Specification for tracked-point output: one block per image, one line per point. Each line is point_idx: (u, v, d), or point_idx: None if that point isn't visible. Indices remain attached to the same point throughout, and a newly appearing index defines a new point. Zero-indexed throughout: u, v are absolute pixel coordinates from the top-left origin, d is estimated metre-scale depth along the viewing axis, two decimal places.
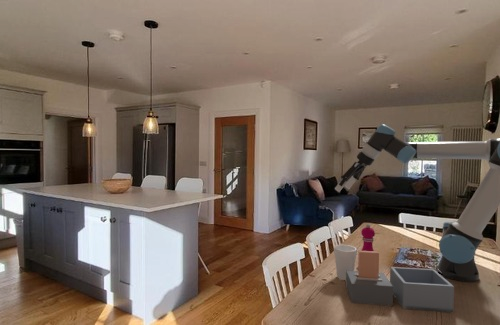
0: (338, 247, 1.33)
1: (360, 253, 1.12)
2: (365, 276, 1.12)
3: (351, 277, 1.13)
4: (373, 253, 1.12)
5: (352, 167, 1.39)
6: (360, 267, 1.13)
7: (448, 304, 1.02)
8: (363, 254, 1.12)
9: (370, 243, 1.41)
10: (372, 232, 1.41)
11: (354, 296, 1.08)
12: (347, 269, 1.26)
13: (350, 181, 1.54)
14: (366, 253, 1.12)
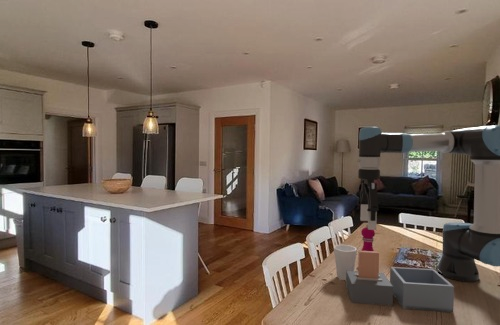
0: (338, 247, 1.33)
1: (360, 253, 1.12)
2: (365, 276, 1.12)
3: (351, 277, 1.13)
4: (373, 253, 1.12)
5: (371, 191, 1.05)
6: (360, 267, 1.13)
7: (448, 304, 1.02)
8: (363, 254, 1.12)
9: (370, 243, 1.41)
10: (372, 232, 1.41)
11: (354, 296, 1.08)
12: (347, 269, 1.26)
13: (363, 210, 1.19)
14: (366, 253, 1.12)
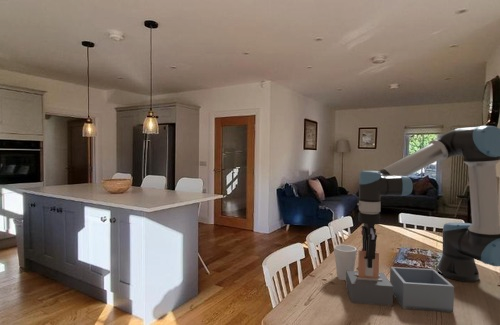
0: (338, 247, 1.33)
1: (360, 253, 1.12)
2: (365, 276, 1.12)
3: (351, 277, 1.13)
4: None
5: (371, 242, 1.07)
6: (360, 267, 1.13)
7: (448, 304, 1.02)
8: (363, 254, 1.12)
9: None
10: None
11: (354, 296, 1.08)
12: (347, 269, 1.26)
13: None
14: None
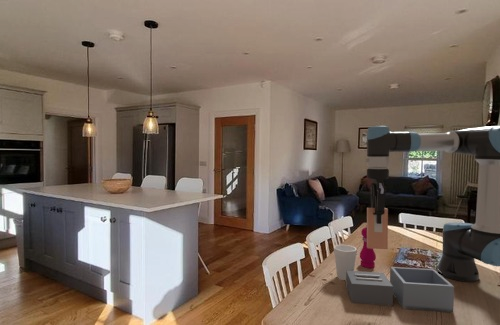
0: (338, 247, 1.33)
1: (369, 210, 1.11)
2: (374, 233, 1.11)
3: (351, 277, 1.13)
4: None
5: (380, 196, 1.06)
6: (369, 224, 1.12)
7: (448, 304, 1.02)
8: (372, 210, 1.11)
9: None
10: None
11: (354, 296, 1.08)
12: (347, 269, 1.26)
13: None
14: None
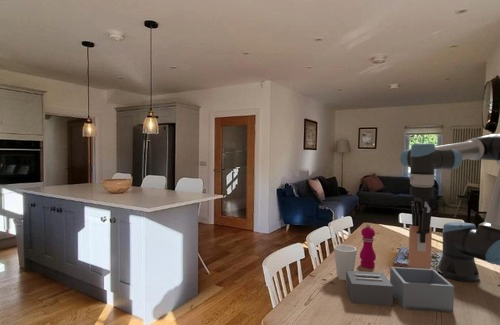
0: (338, 247, 1.33)
1: (412, 228, 1.09)
2: (417, 252, 1.09)
3: (351, 277, 1.13)
4: None
5: (425, 215, 1.04)
6: (412, 242, 1.09)
7: (448, 304, 1.02)
8: (415, 229, 1.09)
9: (370, 243, 1.41)
10: (372, 232, 1.41)
11: (354, 296, 1.08)
12: (347, 269, 1.26)
13: None
14: (418, 228, 1.09)
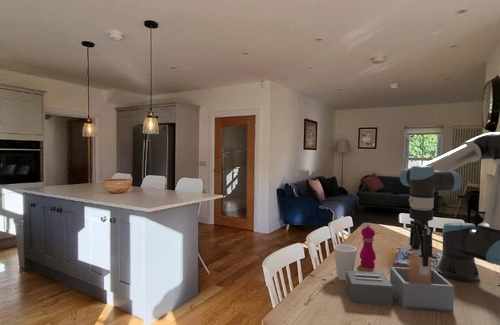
0: (338, 247, 1.33)
1: (411, 258, 1.10)
2: (416, 282, 1.10)
3: (351, 277, 1.13)
4: None
5: (426, 237, 1.03)
6: (411, 273, 1.10)
7: (448, 304, 1.02)
8: (415, 259, 1.10)
9: (370, 243, 1.41)
10: (372, 232, 1.41)
11: (354, 296, 1.08)
12: (347, 269, 1.26)
13: None
14: (418, 258, 1.09)
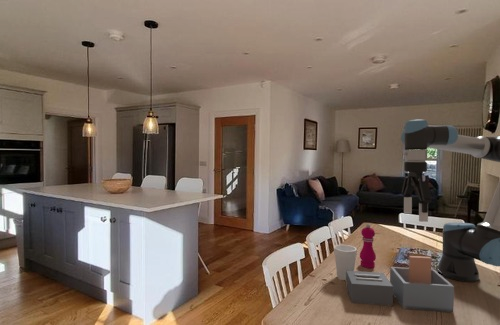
0: (338, 247, 1.33)
1: (411, 258, 1.10)
2: (416, 282, 1.10)
3: (351, 277, 1.13)
4: (425, 258, 1.09)
5: (422, 183, 1.06)
6: (411, 273, 1.10)
7: (448, 304, 1.02)
8: (415, 259, 1.10)
9: (370, 243, 1.41)
10: (372, 232, 1.41)
11: (354, 296, 1.08)
12: (347, 269, 1.26)
13: (407, 203, 1.20)
14: (418, 258, 1.09)
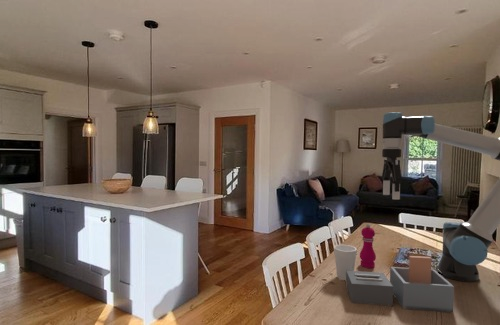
0: (338, 247, 1.33)
1: (411, 258, 1.10)
2: (416, 282, 1.10)
3: (351, 277, 1.13)
4: (425, 258, 1.09)
5: (395, 166, 1.24)
6: (411, 273, 1.10)
7: (448, 304, 1.02)
8: (415, 259, 1.10)
9: (370, 243, 1.41)
10: (372, 232, 1.41)
11: (354, 296, 1.08)
12: (347, 269, 1.26)
13: (385, 186, 1.38)
14: (418, 258, 1.09)
